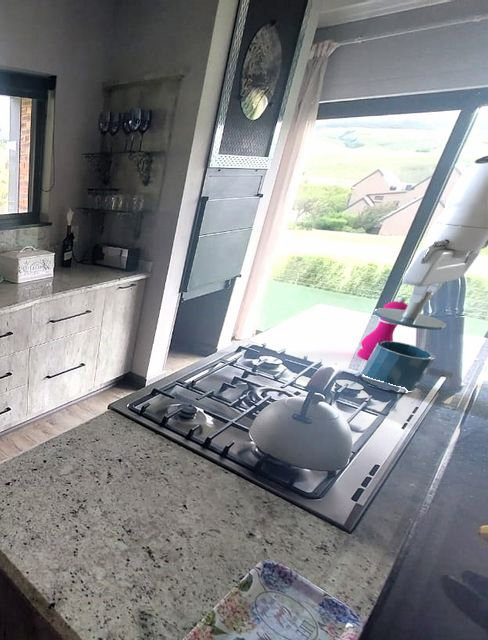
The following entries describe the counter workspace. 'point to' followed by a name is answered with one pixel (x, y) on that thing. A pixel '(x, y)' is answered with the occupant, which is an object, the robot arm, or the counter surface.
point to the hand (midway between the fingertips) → (419, 301)
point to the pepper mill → (381, 330)
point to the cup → (398, 364)
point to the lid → (411, 316)
